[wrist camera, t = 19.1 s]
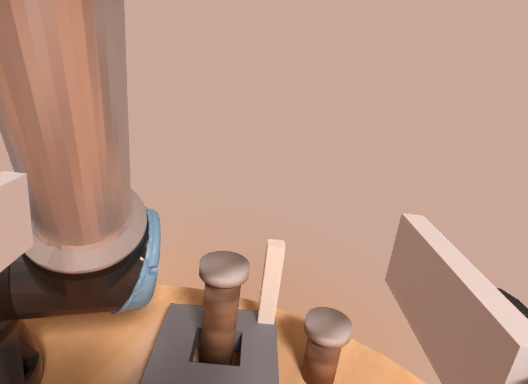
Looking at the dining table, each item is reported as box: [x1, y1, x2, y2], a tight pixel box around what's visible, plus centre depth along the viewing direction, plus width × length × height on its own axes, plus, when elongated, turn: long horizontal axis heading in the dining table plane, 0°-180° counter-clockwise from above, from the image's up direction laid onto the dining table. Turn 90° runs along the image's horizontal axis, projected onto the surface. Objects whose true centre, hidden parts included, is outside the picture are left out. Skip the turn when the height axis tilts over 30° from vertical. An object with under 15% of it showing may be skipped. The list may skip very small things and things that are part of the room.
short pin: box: [302, 307, 352, 384], centre depth 51 cm, size 6×6×9 cm
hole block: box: [140, 239, 285, 384], centre depth 49 cm, size 16×16×16 cm
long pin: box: [199, 251, 250, 366], centre depth 49 cm, size 6×6×16 cm
